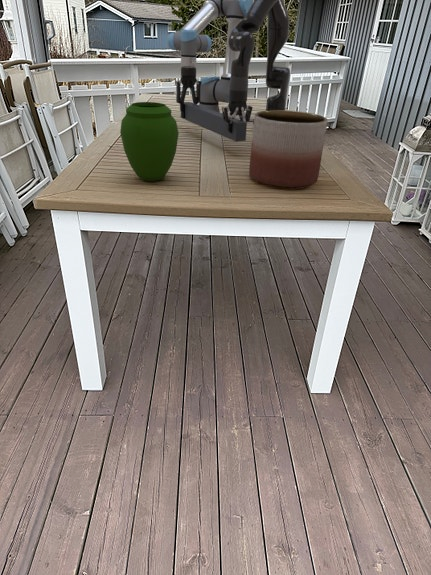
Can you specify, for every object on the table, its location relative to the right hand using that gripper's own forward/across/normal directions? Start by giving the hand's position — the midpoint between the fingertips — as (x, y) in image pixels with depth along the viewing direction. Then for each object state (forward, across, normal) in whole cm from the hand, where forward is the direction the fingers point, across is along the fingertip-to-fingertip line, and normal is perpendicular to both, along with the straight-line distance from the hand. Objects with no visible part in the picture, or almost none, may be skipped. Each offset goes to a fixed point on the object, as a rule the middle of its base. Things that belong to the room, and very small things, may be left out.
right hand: (235, 132), depth 175 cm
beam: (+3, 0, +24) cm, 24 cm away
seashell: (+10, +43, +43) cm, 62 cm away
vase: (+9, -46, -19) cm, 51 cm away
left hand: (+3, 0, +48) cm, 48 cm away
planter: (+9, -1, -37) cm, 39 cm away
